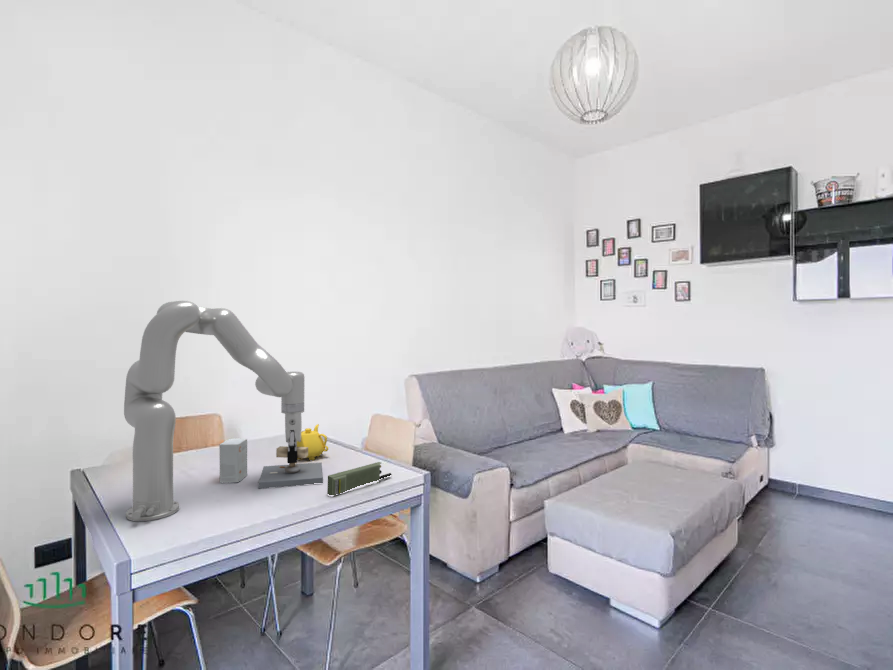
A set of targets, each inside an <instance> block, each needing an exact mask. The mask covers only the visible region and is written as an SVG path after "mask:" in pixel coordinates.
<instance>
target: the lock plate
mask: <svg viewBox="0 0 893 670" xmlns="http://www.w3.org/2000/svg"><path fill="white" fill-rule="evenodd" d="M295 464H296V465H300V471H299V472H296V473H285V468H279V467H280V466H287V465H288V464H279V465H277V464H276V465H264V466H263V467H262V470H261V474H260V477H259V480H258V482H257V483H258V487H257V489H258V488H263V489H270V488H269V487H275V488H284V486H288V487H297V486H296V485H300V486H305V485H304V484H313V485H315V484H314V483H323V484H324V474H323V465H322V464H323V463H322V462H309V463H306V462H305V463H295Z"/></svg>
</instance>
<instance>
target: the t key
mask: <svg viewBox="0 0 893 670" xmlns="http://www.w3.org/2000/svg"><path fill="white" fill-rule="evenodd" d="M287 451H288V446H285V445H284V446H283V445H282V446H278V447H276V451H275V452H276V453H275V454H276V458H284V459H285V458H286V459H287ZM307 456H308V447H297V458H301V459H307V458H306V457H307ZM296 464H297V463H288V464H286V465H287V466H280V467H279V468H285V473H296V472H299V471H300V465H296Z"/></svg>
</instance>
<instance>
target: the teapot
mask: <svg viewBox="0 0 893 670" xmlns="http://www.w3.org/2000/svg"><path fill="white" fill-rule="evenodd" d="M319 426H320V425H319V423H317V424H316V425H315V426H314V427H313V428H314V429H313V430H312V428H311V427H310V428H309V427H308V428H304V430H303V431H302V430H301V442H299V441H297V447H308V456H307V457H306V458H305V459H307V458H308V460H309V461H310V460H312V461H315V460H316V458H315V457H316V456H318V457H321V455H322V454H323V453H324V452H328V450H329V447H328V445H327V443H328V437H327V435H326V434H324V433H319ZM323 438H324V439H323ZM300 460H302V458H297V461H300Z"/></svg>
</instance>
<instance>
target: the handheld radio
mask: <svg viewBox="0 0 893 670" xmlns="http://www.w3.org/2000/svg"><path fill="white" fill-rule="evenodd" d="M381 464H382V462H381V461H377V462H373V463H370V464H365V465H363V466H359V467H355V468H352V469H347V470H344V471H340V472H337V473H333V474H329V475H327V488H326V489H327V490H326V491H327V492H326V493H327V494H329V495H336V494H340V493H343V492H345V491H347V490H350V489H352V488H355V487H357V486H360V485H364V484H366V483H370V482H373V481H377V480H379V479H381V478H384V477H387V476H390V475H393V474H392V472H389V473H385V474H382V473H383V472H382V470H381V468H382V465H381ZM380 474H382V475H380ZM381 480H382V479H381ZM379 481H380V480H379ZM327 494H326V495H327ZM340 495H341V494H340Z"/></svg>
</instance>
